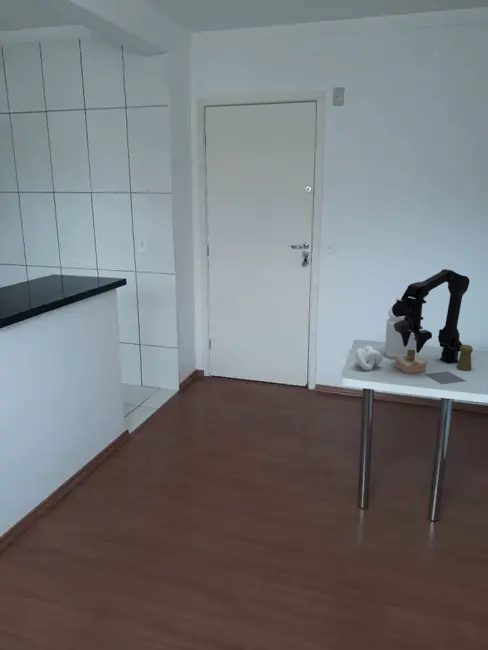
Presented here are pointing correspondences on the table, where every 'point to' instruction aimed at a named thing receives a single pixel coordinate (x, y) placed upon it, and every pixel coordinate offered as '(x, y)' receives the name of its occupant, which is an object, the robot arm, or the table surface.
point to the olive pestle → (465, 358)
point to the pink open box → (410, 368)
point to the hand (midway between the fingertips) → (411, 349)
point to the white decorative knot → (368, 358)
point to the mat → (445, 377)
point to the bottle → (396, 337)
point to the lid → (410, 359)
